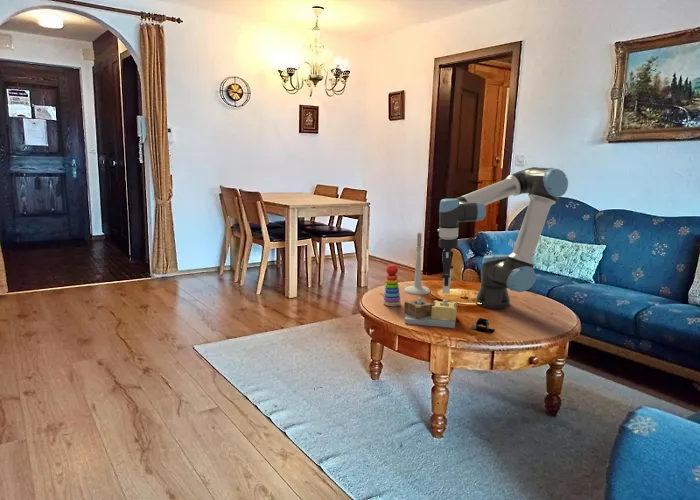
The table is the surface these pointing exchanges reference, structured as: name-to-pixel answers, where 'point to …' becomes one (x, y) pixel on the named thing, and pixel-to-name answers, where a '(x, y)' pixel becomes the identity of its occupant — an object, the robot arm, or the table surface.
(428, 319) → the board
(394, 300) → the stacking toy
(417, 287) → the candlestick
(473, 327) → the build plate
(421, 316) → the walnut cog
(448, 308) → the ochre cog
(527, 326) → the table surface
